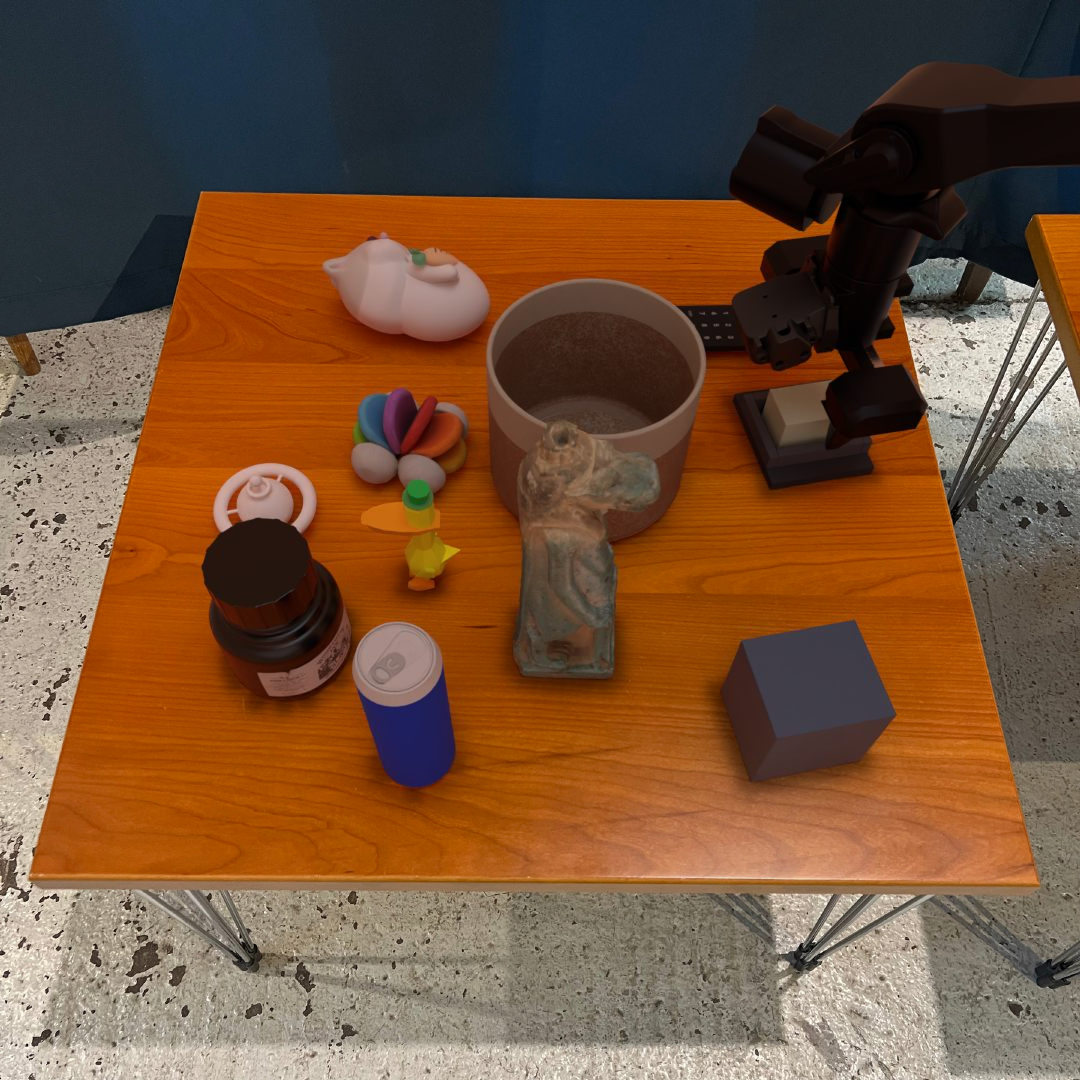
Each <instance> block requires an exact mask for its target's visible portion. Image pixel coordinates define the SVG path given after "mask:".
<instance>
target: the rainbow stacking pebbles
mask: <svg viewBox="0 0 1080 1080" xmlns="http://www.w3.org/2000/svg"><path fill="white" fill-rule="evenodd" d="M413 395H414V394H412V392H411V391H410V390H408V389H407V388H404V387H403V388H402V387H398V388H396V389H394V390H392V391H388V392H386V393H381V392H380V393H379V392H376V393H372V394H369V395H367V396H366V397H364V398H363V399H362V400H361V401H360V403H359V404H358V408H357V420H356V422H355V423H354V425H353V428H352V441H353V445H354V447H353V449H352V450H351V454H350V455H351V456H350V462H351V466H352V469H353V471H354V473H355V474H356V475H357V476H358V477H359V478H360V479H361V480H363V481H364V482H367V483H369V484H375V485H377V484H379V485H380V484H385V483H388V482H389V481H391V480H392V479H393V478H395V477H396V475H397V476H398V478H399V479H398V480H399V482H400V483H401V484H402V486H403V487H404V488H405V489H406V488H407V486H408V484H409V483H410V481H414V480H417V479H420V480H423V481H425V482H427V483H428V485H429V487H430V490H431V491H432V493H433V494H435V493H437V492H438V491H439V490H441V489H442V488H443V487H444V486H445V484H446V480H447V476H446V474H448V475H449V474H452V473H455V472H456V471H458V470H460V469H461V468H463V466H464V465H465V463H466V461H467V457H468V448H467V445H466V442H465V439H466V438H467V437H468V435H469V430H470V424H469V423H470V422H469V420H468V417H467V415H466V413H465V411H463V410H462V408H461V407H459V406H457V405H456V404H454V403H451V402H445V401H444V402H438V398H437V397H435V396H434V395H429V396H427V397H426V398H424V401H423V402H422V404H421V405H420V406H419V404H418V402H417V400H415V398H414V396H413ZM402 454H403V456H402Z"/></svg>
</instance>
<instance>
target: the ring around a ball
mask: <svg viewBox="0 0 1080 1080" xmlns="http://www.w3.org/2000/svg"><path fill="white" fill-rule="evenodd" d="M269 477H277V478H276V479H273V478H269ZM282 479H286V480H288V481H290V482H292V483H293V484H294V485H295V486H296V487H297V488H298V489H299V491H300V493H301V495H302V502H303V503H302V508H301V512H300V513H299V515H298V517H297V518H296V519H295V520H294V521H293V522H292V523H291V525H293V526H295V527H296V528H297V530H298V531H299V532H300V533H301V535H303V533H304V532H305V531H306V530H307V529H308V527H309V526H310V525H311V523H312V521H313V520H314V518H315V514H316V511H317V504H318V501H317V500H318V499H317V498H318V497H317V493H316V489H315V487H314V485H313V483H312V481H311V480H310V479H309V478H308V477H307V475H305V474H304V473H303V472H302V471H300V470H298V469H297V468H294V467H292V466H290V465H287V464H284V463H278V462H265V463H264V462H263V463H258V464H254V465H250V466H247V467H245V468H243V469H241V470H240V471H239V470H238V471H237V472H236V473H234V474H233V475H232V476H230V477H229V478H228V479H227V480H226V481H225V482H224V483H223V484H222V485H221V487H220V489H219V491H218V492H217V494H216V496H215V499H214V502H213V510H212V513H213V519H214V522H215V526H216V528H217V529H218V531H219V533H221V532H223V531H225V530H227V529H228V528H230V527H232V526H233V525H234V524H233V523H232V522H231V520H230V518H229V515H231V514H238V517H239V519H240V520H241V522H243V521H247V520H251V519H254V518H258V517H260V518H269V519H280V520H281V521H283V522H285V523H287V524H289V521H290V520H291V519H292V516H293V513H294V509H295V508H294V507H295V505H294V499H293V496H292V493H291V491H290V490H289V489H288V487H287V486H286V485H285V484H284V483H282V482H281V481H282ZM241 487H242V488H241ZM240 488H241V490H240V492H239V493H238V496H237V499H236V508H235V509H230V510H228V508H229V503H230V501H231V499H232V497H233V496H234V494H235V493H236V491H238V490H239V489H240Z"/></svg>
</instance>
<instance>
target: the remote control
mask: <svg viewBox="0 0 1080 1080" xmlns="http://www.w3.org/2000/svg"><path fill="white" fill-rule="evenodd" d="M675 306H676V307H677V308H678V309H680V310H681V311H682V312H683V313H684V314H685V315H686V316H687V317H688V319H689V320H690V321H691V322H692V324H693V325H694V326H695V328H696V330H697V331H698V333H699V335H700V337H701V340H702V342H703V345H704V349H705V353H722V352H723V353H725V352H727V353H729V352H731V353H733V352H735V353H736V352H747V350H746V348H745V346H744V343H743V341H742V339H741V337H740V335H739V333H738V329H737V325H736V321H735V317H734V312H733V308H732V304H690V305H687V304H686V305H685V304H683V305H675Z"/></svg>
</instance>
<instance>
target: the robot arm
mask: <svg viewBox="0 0 1080 1080" xmlns="http://www.w3.org/2000/svg"><path fill="white" fill-rule="evenodd" d="M1063 167H1067V168H1068V167H1080V74H1079V75H1068V76H1056V77H1045V78H1030V77H1029V78H1028V77H1018V76H1013V75H1011V74H1009V73H1005V72H1004V71H1001V70H999V69H996V68H994V67H992V66H989V65H984V64H971V63H960V62H950V61H931V62H926V63H923V64H919V65H917V66H915V67H914V68H912V69H910V70H909V71H908V72H907V73H906V74H905V75H903V76H902V77H901V78H900V79H899V80H898V81H896V82H895V84H893V85H892V86H891V87H890V88H889V89H888V90H887V91H885V92H884V93H883V94H882V95H880V97H879V98H877V99H876V100H875V101H874V102H873V103H872V104H871V105H869V106H868V107H867V108H866V109H865V110H864V111H863V112H862V113H861V114H860V116H859V117H858V118H857V119H856V121H855V123H854V124H853V125H852V126H851V127H849V128H848V129H847V130H846V131H845V132H843V134H842V135H838V134H835V133H833V132H831V131H828V130H827V129H824V128H822V127H820V126H819V125H816V124H814V123H812V122H809V121H807V120H805V119H803V118H801V117H799V116H798V115H797V114H796V113H795V112H793V111H792V110H790V109H788V108H786V107H784V106H781V105H779V104H774V105H773V106H771V107H770V108H769V109H768V110H767V111H765V112H764V113H763V114H762V115H760V116H759V117H758V120H757V125H756V129H755V131H754V132H753V134H752V135H751V136H750V138H749V139H748V141H747V142H746V145H745V147H744V148H743V150H742V152H741V154H740V157H739V159H738V160H737V163H736V165H734V167H733V168H732V169H731V171H730V176H729V181H728V182H729V183H728V192H729V193H728V194H729V195H730V197H731V198H733V199H735V200H737V201H738V202H741V203H743V204H745V205H747V206H749V207H751V208H752V209H755V210H756V211H759V212H761V213H763V214H764V215H767V216H769V217H770V218H773V219H774V220H776V221H779V222H780V223H783V224H784V225H786V226H788V227H790V228H792V229H794V230H795V231H798V232H802V233H804V232H805V231H806V230H807V229H808V228H809V227H811V225H812V224H813V223H814V222H815V223H817V224H819V225H824V224H825V223H826V222H828V221H829V219H830V218H831V217H832V216H833V215H834V213H835V212H836V210H837V212H836V215H835V218H834V221H833V225H832V227H831V230H830V233H828V234H821V235H811V236H805V237H804V236H803V237H796V238H788V239H781V240H780V239H779V240H776V241H775V242H774V243H773V244H771V245H770V246H769V247H768V248H767V249H766V250H764V252H763V255H762V259H761V263H760V266H759V271H760V273H761V275H762V277H763V279H764V281H763V282H760V283H758V284H755V285H753V286H750V287H748V288H744V289H743V290H740V291H738V292H736V294H734V295H733V296H732V298H731V305H732V308H733V312H734V317H735V321H736V325H737V329H738V333H739V335H740V337H741V339H742V341H743V343H744V346H745V348H746V350H747V351H746V353H747V355H748V357H749V360H750V361H751V362H752V363H753V364H755V365H759V366H762V365H763V366H764V365H767V364H769V366H770V367H771V370H772V371H774V372H783V371H786V370H789V369H791V368H795V367H798V366H799V365H802V364H804V363H807V362H808V361H809V360H810V359H811V358H812V356H813V350H812V348H813V349H814V351H815V354H819V355H820V354H827V353H832V352H834V351H835V350H836V351H837V353H838V354H839V357H840V358H841V360H842V362H843V365H844V366H845V368H846V370H847V371H844V372H843V373H841V374H840V375H838V376H837V377H835V378H833V379H831V380H832V381H831V382H830V383H829V384H828V387H827V390H826V392H825V395H826V400H821V403H822V405H823V407H824V409H825V411H826V414H827V416H828V418H829V420H830V423H829V427H828V430H827V434H826V439H825V448H826V450H833V449H838V448H840V447H841V446H843V445H844V444H846V443H848V442H849V441H851V440H852V439H855V438H861V437H868V436H870V437H873V436H880V435H881V436H882V435H886V434H892V433H898V432H899V433H900V432H905V431H912V430H917V427H918V426H919V424H920V423H921V421H922V418H923V417H924V415H925V413H926V411H927V409H928V408H929V403H928V401H927V400H926V398H925V396H924V394H923V393H922V391H921V389H920V387H919V386H918V384H917V382H916V379H915V378H914V376H913V375H912V373H911V371H910V370H909V369H908V368H907V367H906V366H905V365H904V364H903V363H898V364H892V365H885V364H884V362H883V360H882V359H881V356H880V355H879V353H878V351H877V349H876V347H875V345H874V342H875V341H880V340H888V339H892V338H893V335H894V333H895V331H896V325H894V323H893V321H892V319H891V318H890V316H889V313H890V311H891V308H892V306H893V305H894V302H895V299H898V298H904V297H905V298H906V297H911V295H912V292H913V290H914V288H915V286H916V285H915V283H914V281H913V279H912V277H911V276H910V275H909V272H908V269H909V267H910V264H911V261H912V260H913V256H914V254H915V252H916V250H917V247H918V245H919V243H920V240H921V238H922V236H925V237H927V238H929V239H931V240H933V241H935V242H941V241H943V240H944V239H946V237H947V236H948V235H949V234H950V232H951V231H952V230H953V229H955V227H956V226H957V225H958V224H959V223H960V222H961V221H962V220H963V219H964V218H965V217H966V216H967V214H968V207H967V206H966V205H965V203H964V201H963V199H962V198H961V197H960V196H959V195H958V194H957V193H956V191H955V188H954V186H956V185H959V184H962V183H964V182H967V181H970V180H972V179H975V178H977V177H981V176H983V175H984V176H985V175H986V174H989V173H992V172H997V171H998V172H999V171H1002V170H1003V171H1004V170H1007V169H1018V168H1019V169H1021V168H1024V169H1025V168H1063ZM837 208H838V209H837Z"/></svg>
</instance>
